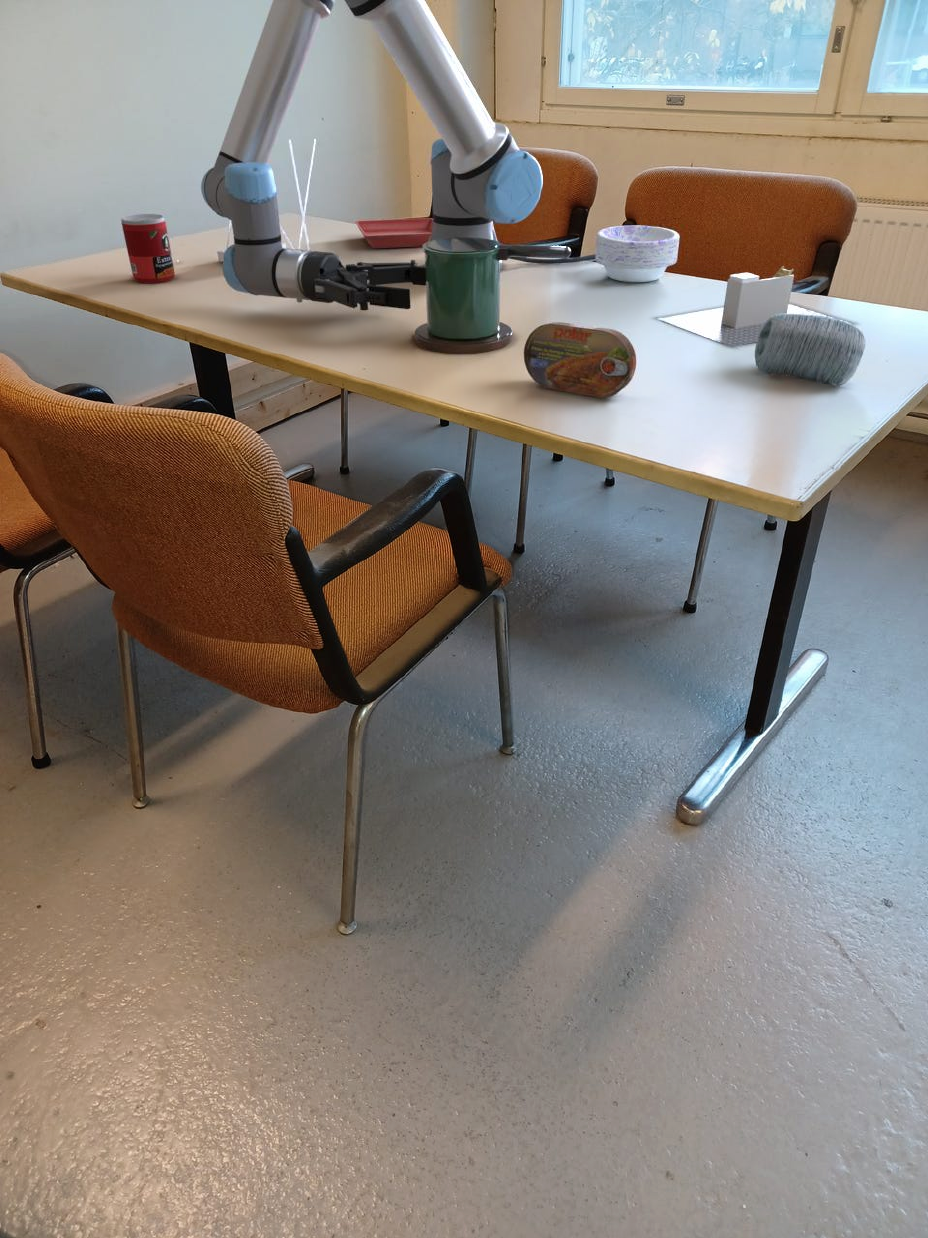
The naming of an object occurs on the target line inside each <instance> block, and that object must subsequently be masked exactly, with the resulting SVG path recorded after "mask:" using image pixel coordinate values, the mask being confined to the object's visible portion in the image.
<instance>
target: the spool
mask: <svg viewBox="0 0 928 1238" xmlns="http://www.w3.org/2000/svg"><path fill="white" fill-rule="evenodd" d="M833 318H834V317H833ZM833 318H828V317H824V316H818V315H805V314H784V313H779V314H775V315H773V316H771V317H770V318H769V319H768V320H767V321H766V323H765V324H764V326H763V328H762V330H761V332H760V334H759V336H758V339H757V342H755V343H756V344H755V348H754V362H755V365H756V367H757V369H758V370H759V371H761V372H763V373H765V374H767V375H771V374H775V375H777V376H778V375H779V376H787V377H791V378H792V377H793V378H796V379H797V378H798V379H801V380H807V381H811V382H815V383H821V384H824V385H832V386H835V387H837V386H843V385H845V384H846V383H847V382H848V381H849V380H850V379H851V378H853V377H854V375H855V374H856V371H857V370H858V367H859V365H860V363H861V361H862V357H863V354H864V352H865V350H866V349H865V348H866V338H865V335H864V333H863V331H862V330H861V329H860V328H858V327H857V326H856V325H853V324H849V323H850V322H849V323H847V322H848V321H846V322H844V321H845V320H842V319H839V318H836V319H833ZM841 320H842V321H841Z"/></svg>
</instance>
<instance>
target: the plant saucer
mask: <svg viewBox="0 0 928 1238" xmlns="http://www.w3.org/2000/svg"><path fill="white" fill-rule="evenodd" d="M355 224H356V226H357V227H358V229H359V231H360V232H361V234H362V236H363V237H364V238H365V240H366V242H367V243H368V244H369V246H370V247H371V248H372V249H391V248H395V249H396V248H417V247H418V248H420V247H423V245H424V244H425V243H427V242H428V241H429V237H431V233H432V229H433V217H432V218H431V217H428V218H427V217H426V218H425V217H423V218H400V219H399V218H398V219H395V218H394V219H372V220H370V219H369V220H356V221H355Z"/></svg>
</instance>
